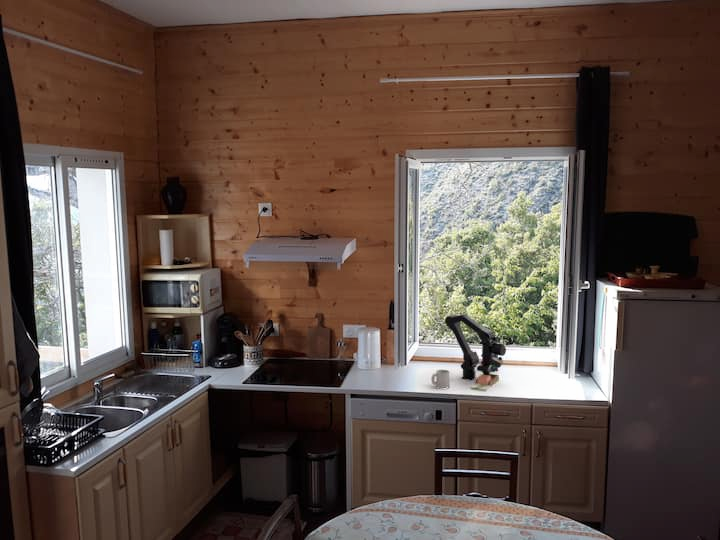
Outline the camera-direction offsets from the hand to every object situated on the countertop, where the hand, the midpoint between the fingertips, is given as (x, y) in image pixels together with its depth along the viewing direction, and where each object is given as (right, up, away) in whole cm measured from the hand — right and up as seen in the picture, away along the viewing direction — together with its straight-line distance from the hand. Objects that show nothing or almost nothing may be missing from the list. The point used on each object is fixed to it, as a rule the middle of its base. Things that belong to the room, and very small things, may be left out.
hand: (487, 379), depth 344 cm
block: (-3, -1, -4) cm, 5 cm away
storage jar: (+7, +1, +26) cm, 27 cm away
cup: (-28, -3, -7) cm, 28 cm away
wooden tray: (-2, -2, -3) cm, 4 cm away
